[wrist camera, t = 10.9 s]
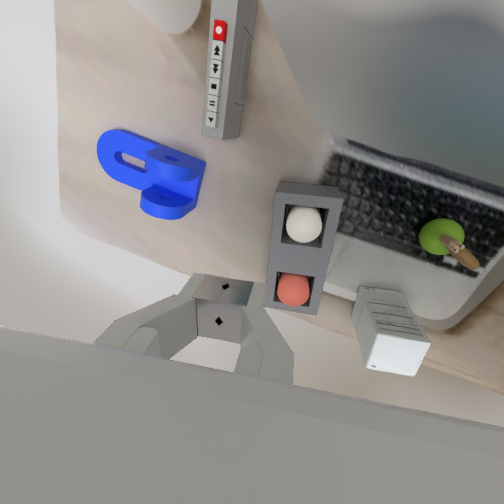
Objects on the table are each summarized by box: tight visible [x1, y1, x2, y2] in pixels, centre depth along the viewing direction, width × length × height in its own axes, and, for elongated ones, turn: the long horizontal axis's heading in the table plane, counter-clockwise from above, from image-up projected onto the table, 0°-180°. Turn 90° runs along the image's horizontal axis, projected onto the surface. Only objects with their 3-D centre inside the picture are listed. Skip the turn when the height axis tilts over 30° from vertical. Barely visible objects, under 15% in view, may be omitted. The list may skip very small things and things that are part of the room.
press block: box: [265, 181, 344, 315], centre depth 41 cm, size 9×20×8 cm, turn 176°
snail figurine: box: [419, 218, 479, 269], centre depth 34 cm, size 5×6×12 cm
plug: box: [286, 205, 322, 243], centre depth 38 cm, size 5×5×6 cm
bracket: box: [97, 130, 206, 220], centre depth 39 cm, size 18×8×9 cm, turn 70°
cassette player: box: [202, 0, 258, 140], centre depth 31 cm, size 16×3×10 cm, turn 169°
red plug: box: [277, 272, 309, 306], centre depth 42 cm, size 5×5×6 cm
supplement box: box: [351, 286, 431, 376], centre depth 42 cm, size 7×7×13 cm
